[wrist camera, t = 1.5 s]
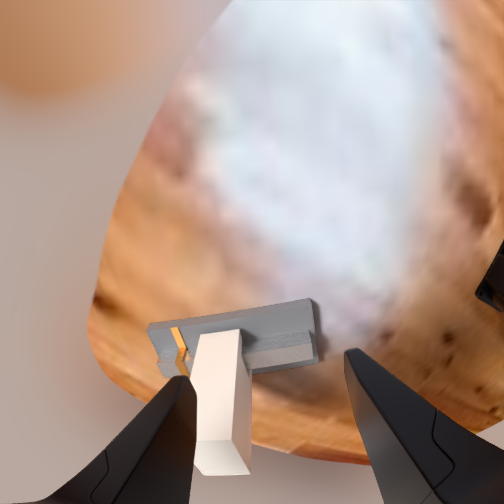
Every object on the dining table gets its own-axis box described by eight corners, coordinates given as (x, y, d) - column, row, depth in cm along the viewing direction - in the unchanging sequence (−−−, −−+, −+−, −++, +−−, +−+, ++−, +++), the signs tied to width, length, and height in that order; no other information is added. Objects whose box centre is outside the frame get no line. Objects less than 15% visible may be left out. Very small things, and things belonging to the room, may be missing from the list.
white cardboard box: (239, 328, 22) (231, 439, 13) (252, 371, 23) (250, 474, 14) (200, 334, 22) (175, 440, 13) (217, 375, 24) (203, 475, 15)
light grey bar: (307, 326, 22) (311, 342, 20) (310, 345, 23) (313, 362, 21) (161, 347, 23) (155, 363, 21) (169, 364, 24) (164, 380, 22)
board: (309, 298, 22) (312, 306, 21) (316, 355, 24) (318, 364, 23) (149, 323, 23) (145, 331, 22) (174, 374, 25) (171, 382, 24)
